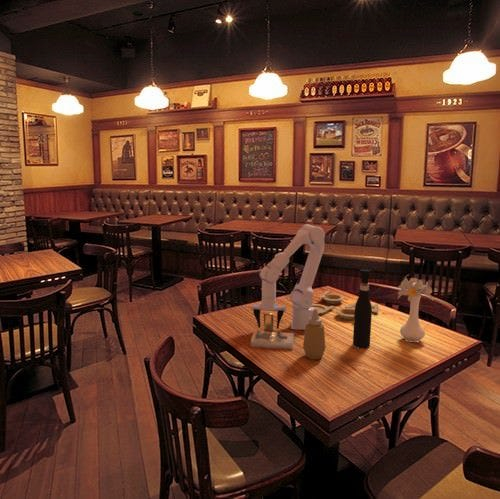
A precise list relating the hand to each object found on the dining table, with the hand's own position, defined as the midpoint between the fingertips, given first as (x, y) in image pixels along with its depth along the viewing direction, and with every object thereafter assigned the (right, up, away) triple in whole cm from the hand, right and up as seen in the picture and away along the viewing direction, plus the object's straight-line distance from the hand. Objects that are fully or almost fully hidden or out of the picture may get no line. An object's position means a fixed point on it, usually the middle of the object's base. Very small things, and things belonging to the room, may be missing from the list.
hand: (268, 327), depth 181 cm
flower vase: (+57, -4, -7) cm, 57 cm away
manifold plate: (+1, -4, -11) cm, 12 cm away
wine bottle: (+35, -5, -13) cm, 38 cm away
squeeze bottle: (+16, -7, -23) cm, 28 cm away
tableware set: (+36, +3, +29) cm, 46 cm away
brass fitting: (0, -2, 0) cm, 2 cm away
